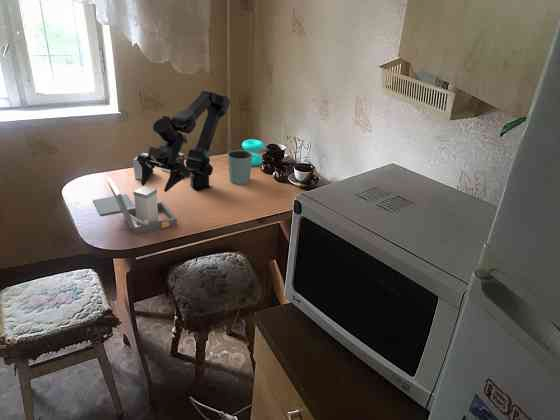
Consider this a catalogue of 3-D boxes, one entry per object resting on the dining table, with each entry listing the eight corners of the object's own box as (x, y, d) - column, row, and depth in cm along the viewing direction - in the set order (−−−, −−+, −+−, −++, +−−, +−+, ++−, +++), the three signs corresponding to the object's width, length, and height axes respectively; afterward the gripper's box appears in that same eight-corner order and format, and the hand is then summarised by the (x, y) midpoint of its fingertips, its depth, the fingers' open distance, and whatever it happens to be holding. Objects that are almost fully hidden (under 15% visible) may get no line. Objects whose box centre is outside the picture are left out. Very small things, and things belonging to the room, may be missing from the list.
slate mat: (126, 195, 163) (126, 194, 162) (135, 208, 154) (135, 207, 154) (93, 201, 157) (92, 199, 157) (100, 215, 148) (100, 214, 148)
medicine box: (144, 180, 175) (143, 160, 171) (134, 178, 176) (132, 159, 172) (153, 173, 182) (152, 153, 178) (143, 171, 183) (142, 152, 179)
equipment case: (163, 207, 156) (160, 168, 149) (177, 225, 145) (175, 184, 138) (111, 217, 147) (105, 176, 140) (122, 238, 136) (116, 195, 129)
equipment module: (146, 217, 149) (143, 185, 144) (158, 220, 148) (156, 189, 142) (136, 223, 145) (133, 191, 139) (149, 227, 143) (146, 195, 138)
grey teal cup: (256, 180, 183) (257, 153, 177) (241, 188, 175) (242, 160, 170) (237, 174, 187) (237, 147, 182) (222, 181, 180) (222, 154, 174)
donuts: (240, 138, 199) (261, 138, 201) (239, 159, 203) (260, 158, 206) (244, 146, 190) (266, 145, 193) (244, 167, 195) (265, 166, 198)
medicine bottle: (173, 174, 183) (171, 147, 177) (160, 169, 186) (159, 143, 180) (184, 169, 188) (183, 143, 183) (172, 165, 191) (171, 139, 186)
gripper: (137, 131, 144) (117, 172, 140) (184, 141, 138) (165, 185, 134) (153, 147, 154) (135, 185, 150) (198, 157, 149) (180, 198, 145)
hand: (153, 188), depth 145 cm, fingers open, 9 cm apart
